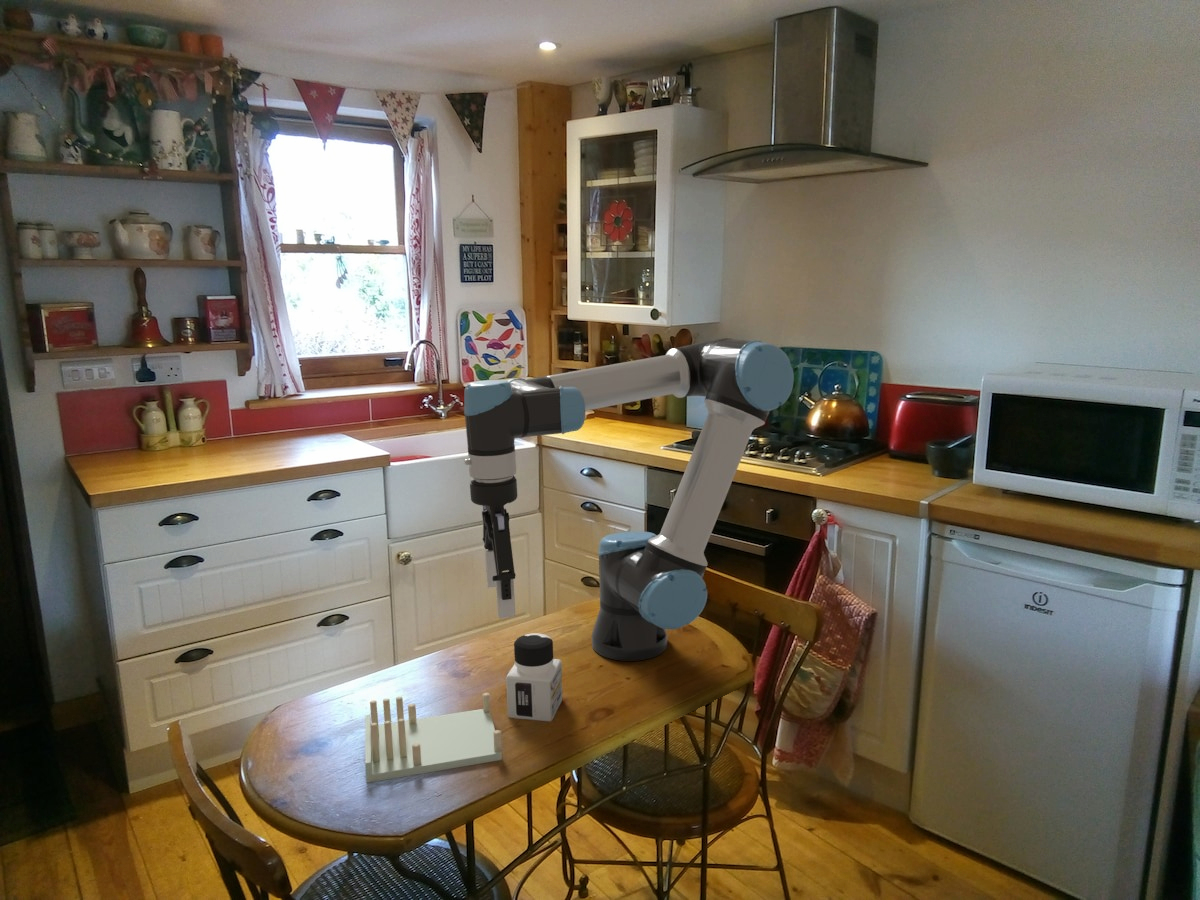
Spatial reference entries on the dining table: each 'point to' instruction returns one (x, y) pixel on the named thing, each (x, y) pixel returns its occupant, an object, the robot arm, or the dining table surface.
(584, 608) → the dining table surface
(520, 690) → the container
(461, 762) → the dish rack
